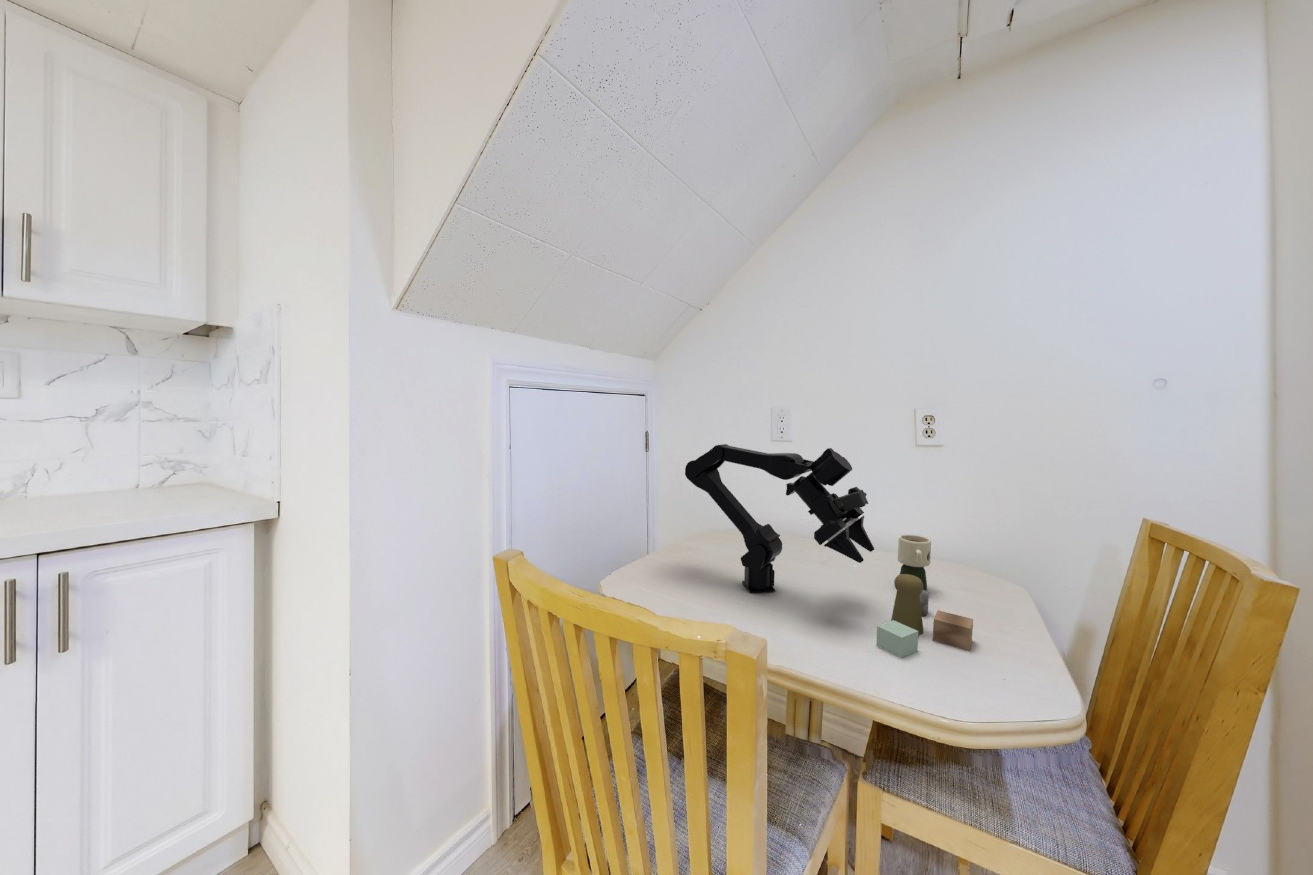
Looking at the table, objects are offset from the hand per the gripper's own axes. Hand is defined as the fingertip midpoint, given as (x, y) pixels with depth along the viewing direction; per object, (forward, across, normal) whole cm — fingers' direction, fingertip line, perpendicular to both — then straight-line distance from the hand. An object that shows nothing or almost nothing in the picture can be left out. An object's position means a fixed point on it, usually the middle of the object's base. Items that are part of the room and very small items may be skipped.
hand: (867, 555), depth 99 cm
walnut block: (+21, 0, -2) cm, 21 cm away
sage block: (+15, -10, +4) cm, 19 cm away
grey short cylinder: (+15, +10, +4) cm, 19 cm away
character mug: (+14, +23, +6) cm, 28 cm away
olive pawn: (+15, 0, +4) cm, 16 cm away
